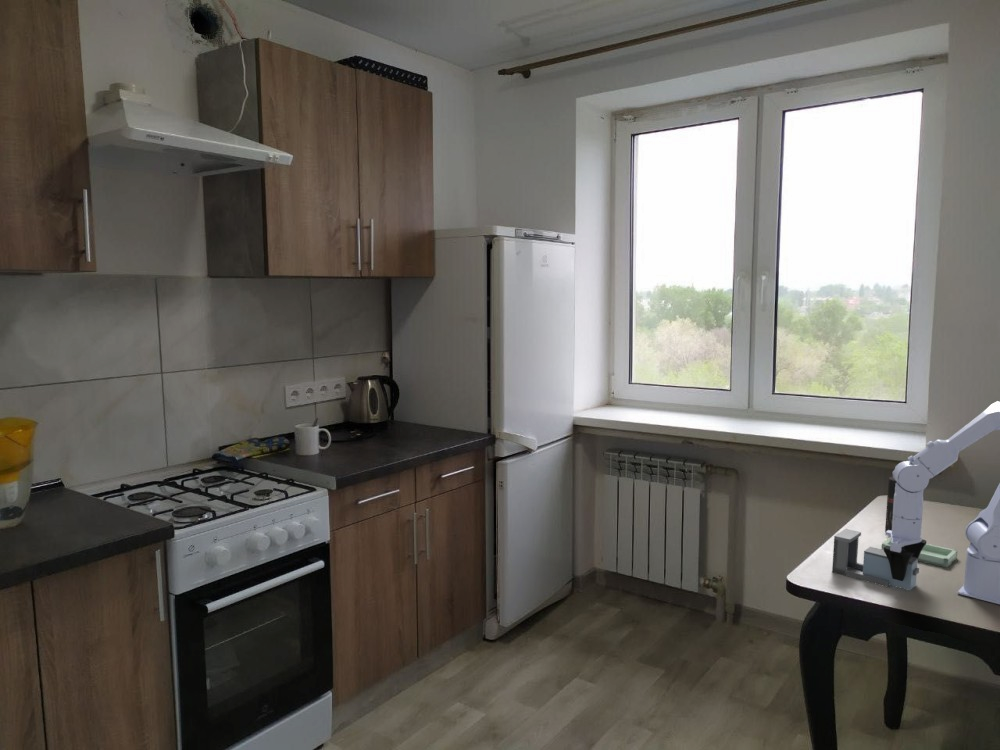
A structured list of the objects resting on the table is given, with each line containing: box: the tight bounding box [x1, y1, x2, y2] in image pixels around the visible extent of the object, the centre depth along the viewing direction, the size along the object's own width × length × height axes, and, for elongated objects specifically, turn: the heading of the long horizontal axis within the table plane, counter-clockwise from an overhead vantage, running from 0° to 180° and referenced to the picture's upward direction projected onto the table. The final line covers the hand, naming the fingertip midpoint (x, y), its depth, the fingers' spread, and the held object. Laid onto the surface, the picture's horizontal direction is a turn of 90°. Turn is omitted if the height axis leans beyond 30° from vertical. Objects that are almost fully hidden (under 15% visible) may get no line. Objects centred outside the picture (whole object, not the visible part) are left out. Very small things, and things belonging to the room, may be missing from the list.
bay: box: [831, 528, 890, 588], centre depth 168 cm, size 12×7×9 cm, turn 45°
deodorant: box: [884, 476, 897, 533], centre depth 196 cm, size 6×6×15 cm
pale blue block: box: [862, 546, 920, 591], centre depth 164 cm, size 11×4×6 cm, turn 45°
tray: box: [881, 537, 958, 569], centre depth 181 cm, size 15×9×2 cm, turn 45°
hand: (903, 574), depth 162 cm, fingers open, 7 cm apart
